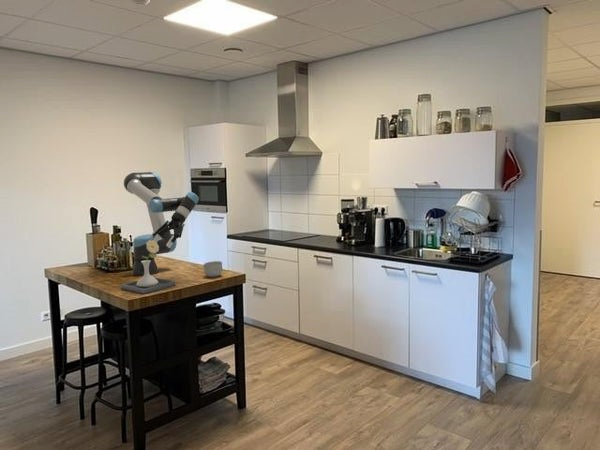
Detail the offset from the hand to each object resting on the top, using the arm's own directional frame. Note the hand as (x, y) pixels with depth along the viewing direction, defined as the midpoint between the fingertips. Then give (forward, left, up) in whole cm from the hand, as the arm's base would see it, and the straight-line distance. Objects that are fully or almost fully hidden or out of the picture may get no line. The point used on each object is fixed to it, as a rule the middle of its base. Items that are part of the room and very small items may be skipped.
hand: (160, 245), depth 253 cm
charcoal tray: (-1, -9, -22) cm, 23 cm away
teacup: (+9, +30, -22) cm, 39 cm away
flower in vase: (0, -8, -21) cm, 23 cm away
